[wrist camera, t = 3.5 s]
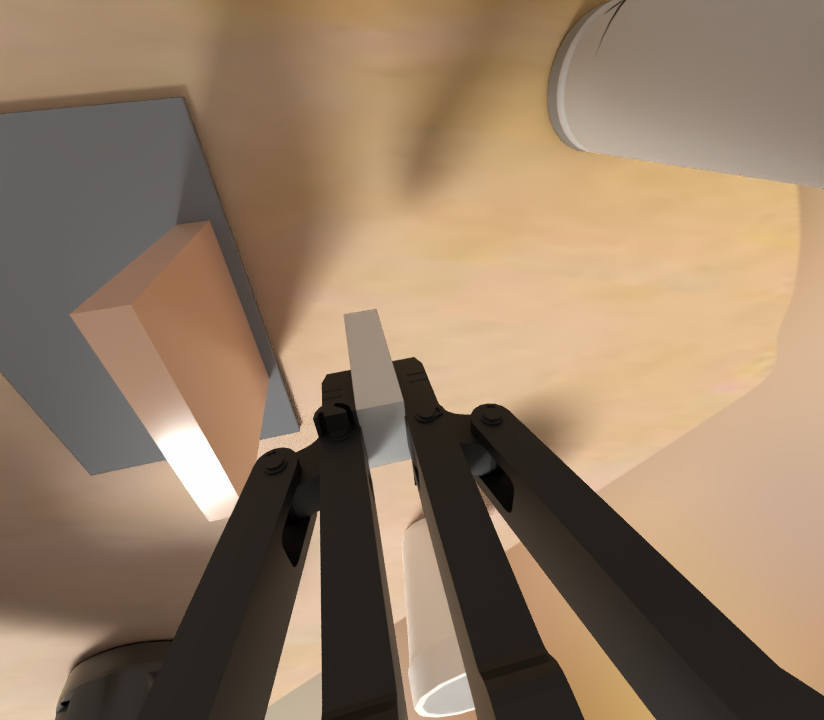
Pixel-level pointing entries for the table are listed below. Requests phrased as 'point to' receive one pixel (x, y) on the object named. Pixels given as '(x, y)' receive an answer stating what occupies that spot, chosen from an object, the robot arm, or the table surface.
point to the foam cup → (431, 632)
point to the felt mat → (100, 259)
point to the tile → (185, 361)
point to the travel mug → (697, 86)
